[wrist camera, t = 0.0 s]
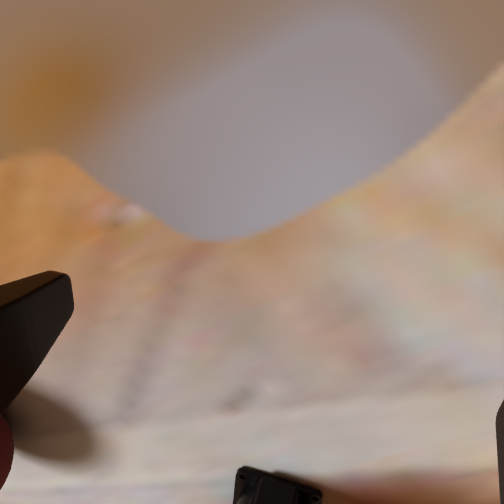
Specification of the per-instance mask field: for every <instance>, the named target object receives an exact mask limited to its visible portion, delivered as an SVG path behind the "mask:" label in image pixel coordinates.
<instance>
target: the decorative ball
mask: <svg viewBox="0 0 504 504" xmlns="http://www.w3.org/2000/svg"><path fill="white" fill-rule="evenodd" d="M13 455H14V442H13V436H12V433H11V430H10V427H9V425H8V423H7V421H6V420H5V418H4V417H3V416H2V415H1V417H0V490H1V488H2V487H3V485H4V483H5V481H6V479H7V477H8V474H9V472H10V470H11V465H12V461H13Z"/></svg>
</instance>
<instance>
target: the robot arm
mask: <svg viewBox="0 0 504 504" xmlns="http://www.w3.org/2000/svg"><path fill="white" fill-rule="evenodd" d="M73 310H74V300H73V292H72V285H71V279H70V277H69V276H68V275H67V274H65V273H61V272H57V271H46V272H43V273H39V274H36V275H33V276H29V277H26V278H23V279H20V280H16V281H13V282H10V283H6V284H3V285H0V417H1V415H2V414H3V413H4V412H5V410H6V409H7V408H8V406H9V405H10V404H11V403H12V401H13V400H14V399H15V398H16V396H17V395H18V394H19V393H20V391H21V390H22V389H23V388H24V386H25V385H26V384H27V382H28V381H29V380H30V378H31V377H32V376H33V374H34V373H35V372H36V370H37V369H38V367H39V366H40V364H41V363H42V361H43V360H44V358H45V357H46V355H47V354H48V352H49V350H50V349H51V347H52V346H53V344H54V343H55V341H56V339H57V338H58V336H59V335H60V333H61V332H62V330H63V328H64V327H65V325H66V324H67V322H68V321H69V319H70V317H71V316H72V313H73ZM496 439H497V456H498V472H499V489H500V502H501V504H504V400H503V402H502V404H501V406H500V408H499V410H498V412H497V416H496ZM322 497H323V494H322V493H321V492H320V491H318V490H315V489H312V488H309V487H305V486H302V485H299V484H295V483H292V482H289V481H285V480H282V479H279V478H275V477H272V476H269V475H266V474H262V473H259V472H256V471H252V470H249V469H246V468H239V469H238V470H237V473H236V479H235V489H234V499H233V504H321V503H322Z"/></svg>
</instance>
